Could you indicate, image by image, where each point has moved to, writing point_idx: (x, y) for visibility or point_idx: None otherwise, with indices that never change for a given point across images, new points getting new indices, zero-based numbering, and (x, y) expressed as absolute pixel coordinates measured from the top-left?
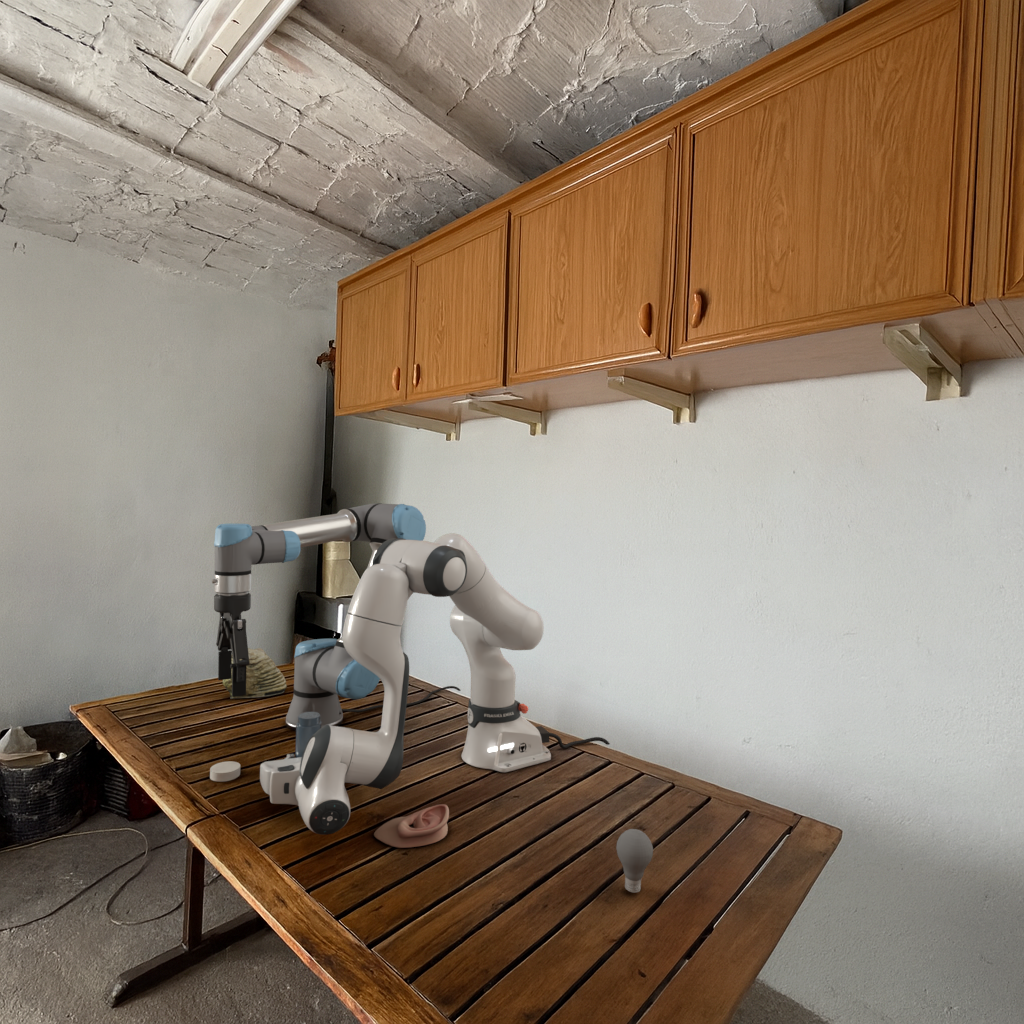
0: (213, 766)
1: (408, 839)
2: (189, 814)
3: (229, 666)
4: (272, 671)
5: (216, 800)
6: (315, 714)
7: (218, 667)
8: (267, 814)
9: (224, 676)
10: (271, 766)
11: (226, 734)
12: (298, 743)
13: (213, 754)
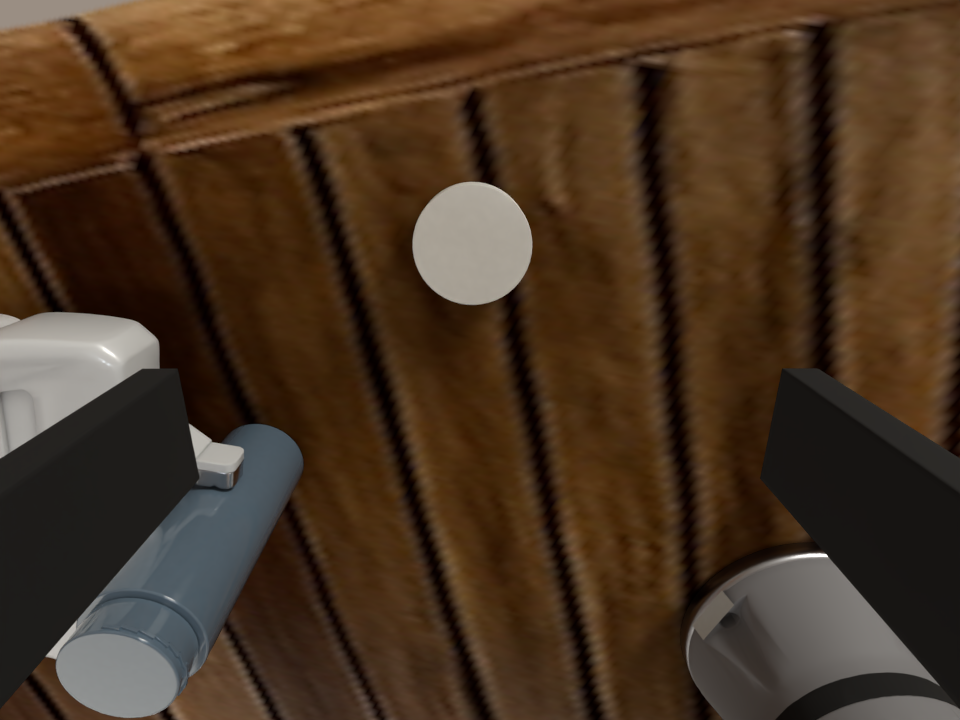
0: (503, 203)
1: None
2: (171, 41)
3: (843, 546)
4: None
5: (258, 163)
6: (119, 701)
7: (906, 431)
8: (80, 297)
9: (788, 434)
10: (43, 376)
11: (904, 336)
12: (155, 530)
13: (718, 244)
